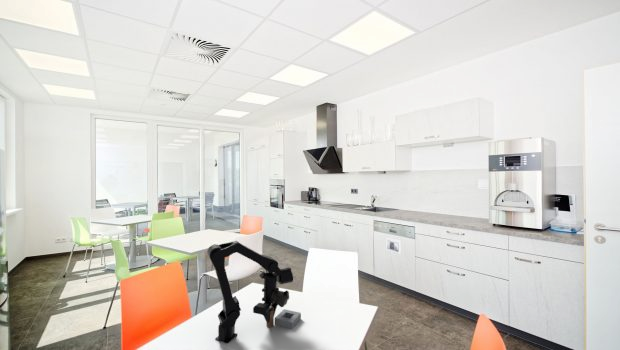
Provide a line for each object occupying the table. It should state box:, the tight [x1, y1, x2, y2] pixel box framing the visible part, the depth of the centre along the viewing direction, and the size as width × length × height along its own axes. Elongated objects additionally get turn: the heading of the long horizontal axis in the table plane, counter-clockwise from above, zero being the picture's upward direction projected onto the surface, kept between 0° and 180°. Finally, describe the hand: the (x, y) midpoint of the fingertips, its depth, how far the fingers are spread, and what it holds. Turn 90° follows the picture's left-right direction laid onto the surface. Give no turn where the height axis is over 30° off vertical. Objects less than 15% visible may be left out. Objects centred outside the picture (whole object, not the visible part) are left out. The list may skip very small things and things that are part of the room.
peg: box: [265, 306, 275, 328], centre depth 124 cm, size 3×3×8 cm
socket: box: [274, 308, 302, 330], centre depth 127 cm, size 9×9×3 cm
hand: (270, 320), depth 124 cm, fingers closed on peg, 3 cm apart
